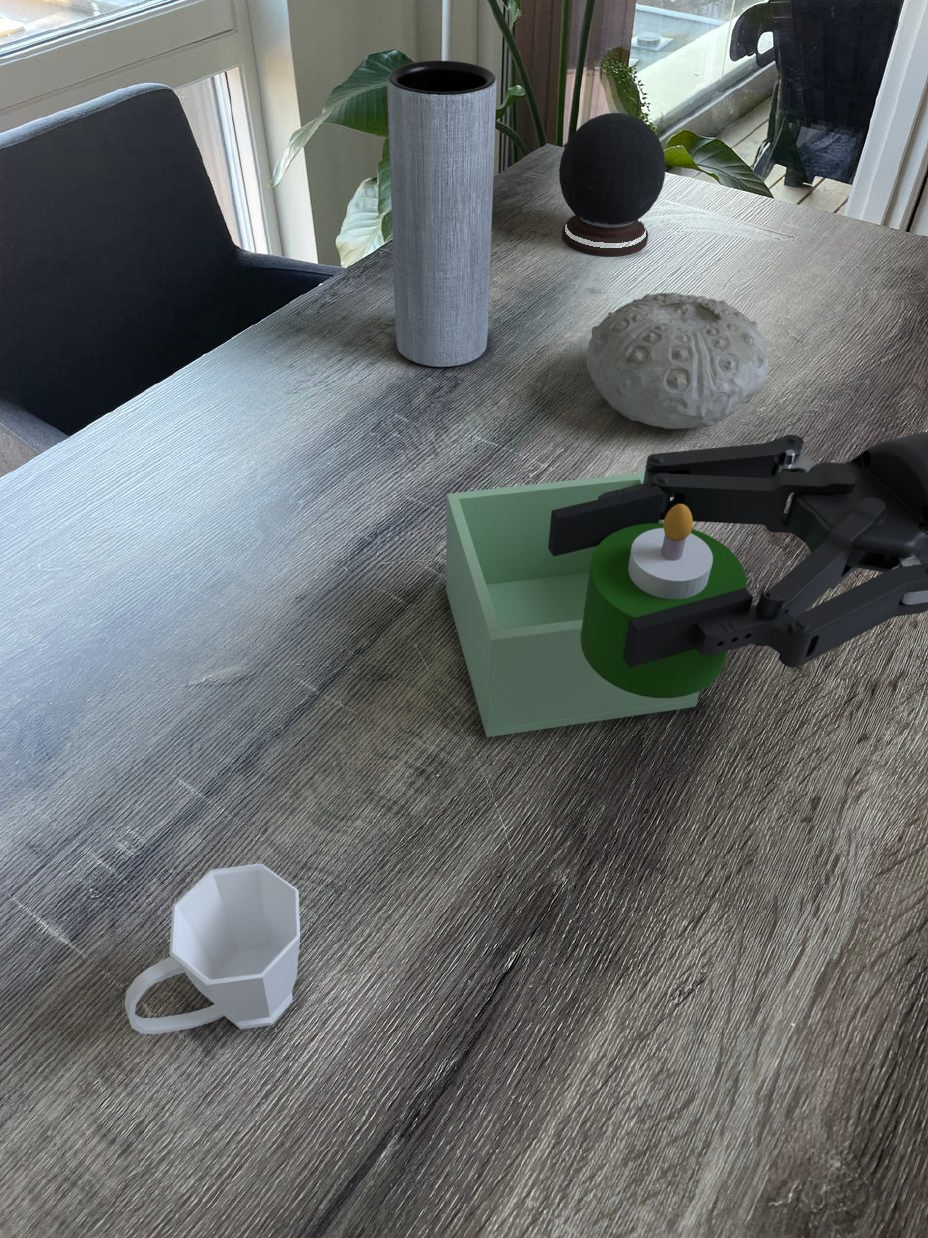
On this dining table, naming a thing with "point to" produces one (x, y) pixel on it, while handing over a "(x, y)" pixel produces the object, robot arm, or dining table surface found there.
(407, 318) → the vase
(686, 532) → the candle
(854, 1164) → the dining table surface
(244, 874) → the cup
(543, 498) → the bin
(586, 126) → the black ball on stand
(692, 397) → the decorative shell
